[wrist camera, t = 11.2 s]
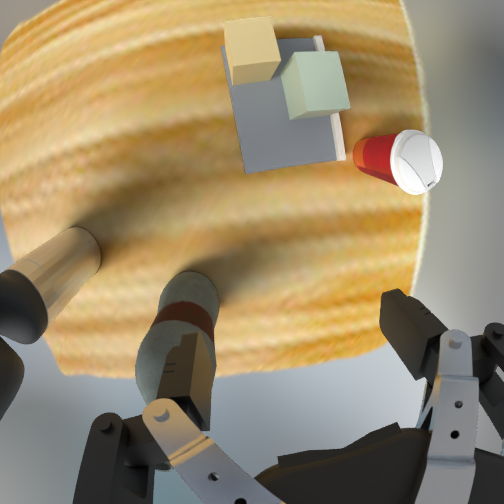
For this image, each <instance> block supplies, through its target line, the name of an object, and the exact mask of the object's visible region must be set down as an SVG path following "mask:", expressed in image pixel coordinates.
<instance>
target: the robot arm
mask: <svg viewBox="0 0 504 504" xmlns="http://www.w3.org/2000/svg"><path fill="white" fill-rule="evenodd" d="M100 264H101V252H100V248H99V246H98V243H97V242H96V240H95V238H94V237H93V236H92V235H91V234H90V233H89V232H88V231H86V230H84V229H82V228H79V227H71V228H68V229H67V230H65V231H63V232H62V233H60V234H58V235H57V236H55V237H53V238H52V239H50V240H49V241H47V242H45V243H44V244H42V245H41V246H39V247H38V248H36V249H35V250H33V251H32V252H30V253H29V254H27V255H26V256H24V257H23V258H21V259H20V260H19V261H17V262H16V263H14V264H13V265H12V266H10V267H9V268H8V269H6V270H5V271H4V272H2V273H1V274H0V335H2V336H5V337H7V338H9V339H11V340H14V341H16V342H18V343H21V344H32V343H34V342H36V341H37V340H38V339H39V338H40V337H41V336H42V334H43V333H44V332H45V330H46V329H47V328H48V327H49V325H50V324H51V323H52V322H53V321H54V319H55V318H56V317H57V316H58V314H59V313H60V312H61V311H62V310H63V309H64V307H65V306H66V305H67V304H68V303H69V302H70V300H71V299H72V298H73V297H74V296H75V295H76V294H77V293H78V291H79V290H80V289H81V288H82V287H83V286H84V285H85V284H86V283H87V282H88V281H89V280H90V278H91V277H92V276H93V275H94V274H95V273H96V272H97V270H98V269H99V267H100ZM379 323H380V328H381V331H382V333H383V334H384V336H385V337H386V339H387V340H388V341H389V343H390V344H391V345H392V347H393V348H394V350H395V351H396V352H397V354H398V356H399V357H400V358H401V360H402V361H403V363H404V364H405V366H406V367H407V369H408V370H409V372H410V373H411V374H412V376H413V377H414V379H415V380H418V379H421V378H423V377H425V378H426V379H427V381H426V384H425V389H424V395H423V400H422V405H421V410H420V415H419V419H418V422H417V425H416V427H415V428H402V429H400V427H399V425H398V423H397V422H396V423H393V424H391V425H388V426H386V427H383V428H381V429H378V430H375V431H373V432H370V433H368V434H367V435H365V436H364V437H362V438H360V439H359V440H357V441H355V442H353V443H352V444H350V445H348V446H346V447H344V448H341V449H329V450H308V451H303V452H299V453H294V454H289V455H283V456H278V463H279V464H276V465H274V466H271V467H269V468H268V469H266V470H264V471H262V472H261V473H260V474H258V475H257V476H256V477H254V478H252V477H251V476H250V475H249V474H248V473H246V472H245V471H244V470H243V469H242V468H241V467H240V466H239V465H238V464H237V463H235V462H234V461H233V460H232V459H231V458H230V457H229V456H228V455H227V454H226V453H225V452H224V451H223V450H222V449H221V448H220V447H218V445H217V444H216V443H215V442H214V441H213V440H211V439H210V438H209V437H206V436H205V435H204V434H203V433H202V432H201V431H210V414H211V389H212V371H213V370H212V362H211V358H210V355H209V352H208V350H207V347H206V344H205V342H204V339H203V336H202V334H201V332H200V331H199V332H192V333H185V334H183V335H182V338H181V342H180V346H175V347H173V348H172V349H171V350H170V351H169V353H168V354H167V356H166V360H165V366H164V368H163V373H162V376H161V380H160V384H159V388H158V392H157V397H156V400H155V401H152V402H151V403H149V404H148V405H147V406H146V407H145V409H144V411H143V414H142V415H139V416H135V417H131V418H128V419H124V420H122V419H121V417H120V416H118V415H117V414H115V413H104V414H102V415H100V416H98V417H97V418H96V419H95V420H94V422H93V423H92V426H91V429H90V433H89V436H88V440H87V443H86V447H85V451H84V455H83V458H82V462H81V466H80V470H79V475H78V479H77V484H76V489H75V493H74V499H73V504H153V490H154V474H155V464H159V463H163V462H166V461H169V462H170V464H171V465H172V466H173V468H174V469H175V470H176V472H177V473H178V474H179V475H180V477H181V478H182V479H183V480H184V482H185V483H186V484H187V485H188V486H189V488H190V489H191V490H192V491H193V492H194V494H195V495H196V496H197V497H198V498H199V499H200V500H201V501H202V503H203V504H504V382H503V381H502V379H501V378H500V377H499V375H498V374H497V373H496V372H495V371H496V369H497V367H498V366H499V367H500V368H501V369H502V371H503V372H504V325H503V324H500V323H490V324H488V325H487V326H486V327H485V330H484V333H483V335H478V336H473V337H469V336H468V335H467V334H466V333H465V332H463V331H460V330H455V329H453V330H448V328H447V327H445V326H444V324H443V323H442V322H441V321H440V320H439V319H438V318H437V317H436V316H435V315H434V314H433V313H431V312H430V310H428V309H427V308H426V307H425V306H424V305H423V304H422V303H421V302H420V301H419V300H417V299H415V298H413V297H411V296H408V297H407V296H406V295H405V294H404V293H403V292H402V291H401V290H400V289H398V288H397V289H394V290H390V291H387V292H383V293H382V296H381V308H380V319H379ZM23 377H24V364H23V361H22V360H21V358H20V357H19V356H18V355H17V353H16V352H15V351H14V350H13V349H12V348H11V347H10V346H9V345H8V344H7V343H6V342H5V341H4V340H3V339H2V338H1V337H0V420H1V419H2V417H3V415H4V414H5V412H6V410H7V409H8V407H9V406H10V404H11V403H12V401H13V400H14V398H15V396H16V394H17V392H18V390H19V388H20V386H21V383H22V380H23ZM479 402H480V404H481V405H482V407H483V408H484V410H485V412H486V413H487V415H488V416H489V418H490V420H491V421H492V423H493V425H494V426H495V428H496V430H497V432H498V433H499V435H500V437H501V439H502V440H503V442H502V451H501V452H500V455H498V454H494V453H491V452H488V451H485V450H481V449H478V448H475V442H476V433H477V422H478V403H479Z"/></svg>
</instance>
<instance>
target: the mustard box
mask: <svg viewBox="0 0 504 504" xmlns="http://www.w3.org/2000/svg"><path fill="white" fill-rule="evenodd" d="M224 37H225V50H226V55H227V60H228V65H229V70H230V75H231V80H232V85H233V86H234V85H240V84H247V83H254V82H261V81H269V80H270V79H271V77H272V76H273V74H274V72H275V70H276V69H277V67H278V65H279V63H280V62H281V58H280V53H279V49H278V45H277V41H276V37H275V33H274V29H273V25H272V21H271V18H270V16H266V17H255V18H245V19H237V20H230V21H224Z"/></svg>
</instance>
